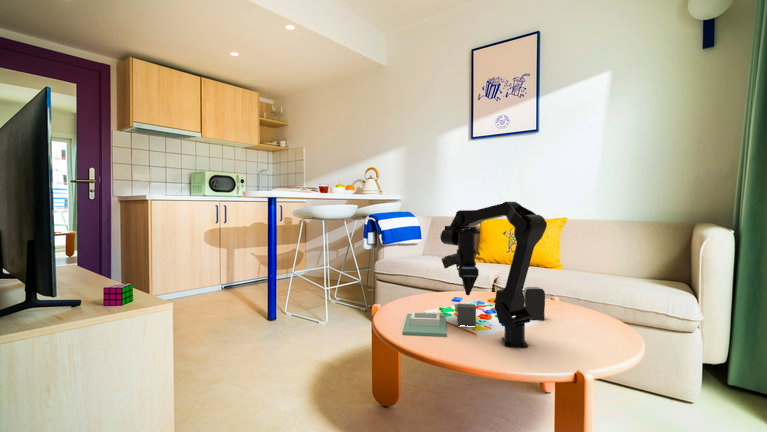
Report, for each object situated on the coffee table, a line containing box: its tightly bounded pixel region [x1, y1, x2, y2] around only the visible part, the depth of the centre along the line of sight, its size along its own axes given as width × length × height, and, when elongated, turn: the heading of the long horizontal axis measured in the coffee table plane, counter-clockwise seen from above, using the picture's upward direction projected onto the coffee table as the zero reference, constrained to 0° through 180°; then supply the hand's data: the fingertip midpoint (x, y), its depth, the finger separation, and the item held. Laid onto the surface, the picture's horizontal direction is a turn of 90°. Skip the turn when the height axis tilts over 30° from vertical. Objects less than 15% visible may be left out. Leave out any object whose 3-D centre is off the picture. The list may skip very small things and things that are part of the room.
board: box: [402, 311, 448, 338], centre depth 128 cm, size 20×14×4 cm
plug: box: [454, 303, 477, 327], centre depth 128 cm, size 4×7×7 cm, turn 82°
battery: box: [523, 286, 546, 321], centre depth 135 cm, size 7×4×11 cm, turn 81°
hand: (466, 291), depth 127 cm, fingers open, 9 cm apart
